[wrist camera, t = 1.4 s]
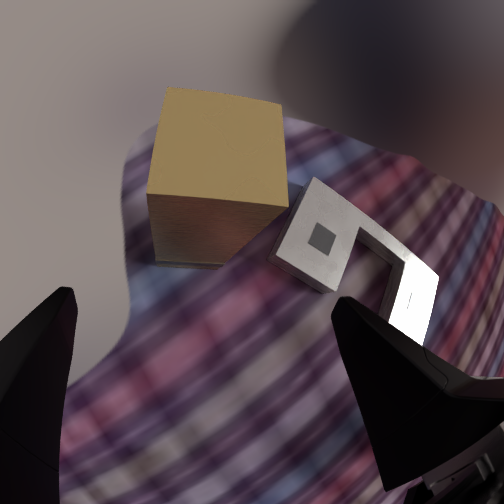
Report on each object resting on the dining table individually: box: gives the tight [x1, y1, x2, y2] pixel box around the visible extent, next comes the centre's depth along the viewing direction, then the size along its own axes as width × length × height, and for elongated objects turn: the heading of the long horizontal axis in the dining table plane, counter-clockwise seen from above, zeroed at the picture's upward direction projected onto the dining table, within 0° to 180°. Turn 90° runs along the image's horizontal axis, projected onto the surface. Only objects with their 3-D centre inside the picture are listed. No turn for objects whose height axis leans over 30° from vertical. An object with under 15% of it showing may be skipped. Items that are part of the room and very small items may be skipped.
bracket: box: [267, 177, 438, 345], centre depth 24 cm, size 8×18×2 cm, turn 63°
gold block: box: [146, 87, 289, 270], centre depth 15 cm, size 5×5×13 cm
